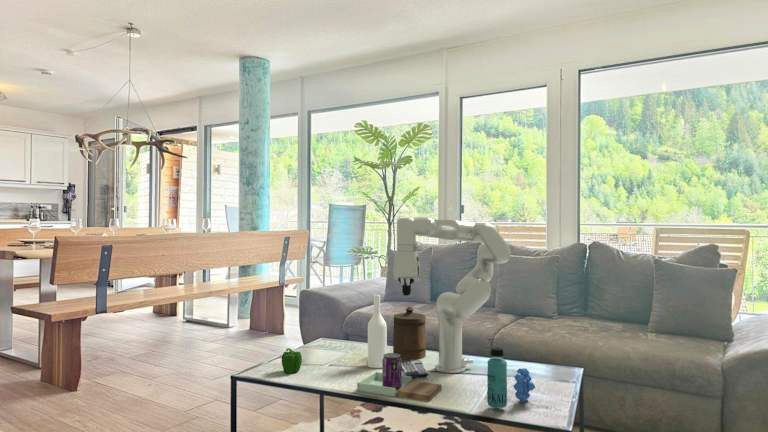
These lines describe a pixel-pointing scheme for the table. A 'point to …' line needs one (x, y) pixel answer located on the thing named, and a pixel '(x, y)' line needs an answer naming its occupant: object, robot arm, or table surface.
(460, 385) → the table surface
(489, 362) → the beverage bottle
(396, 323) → the wooden container
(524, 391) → the grapes
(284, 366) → the bell pepper
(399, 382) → the beverage can
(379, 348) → the bottle
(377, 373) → the tray
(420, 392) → the board
